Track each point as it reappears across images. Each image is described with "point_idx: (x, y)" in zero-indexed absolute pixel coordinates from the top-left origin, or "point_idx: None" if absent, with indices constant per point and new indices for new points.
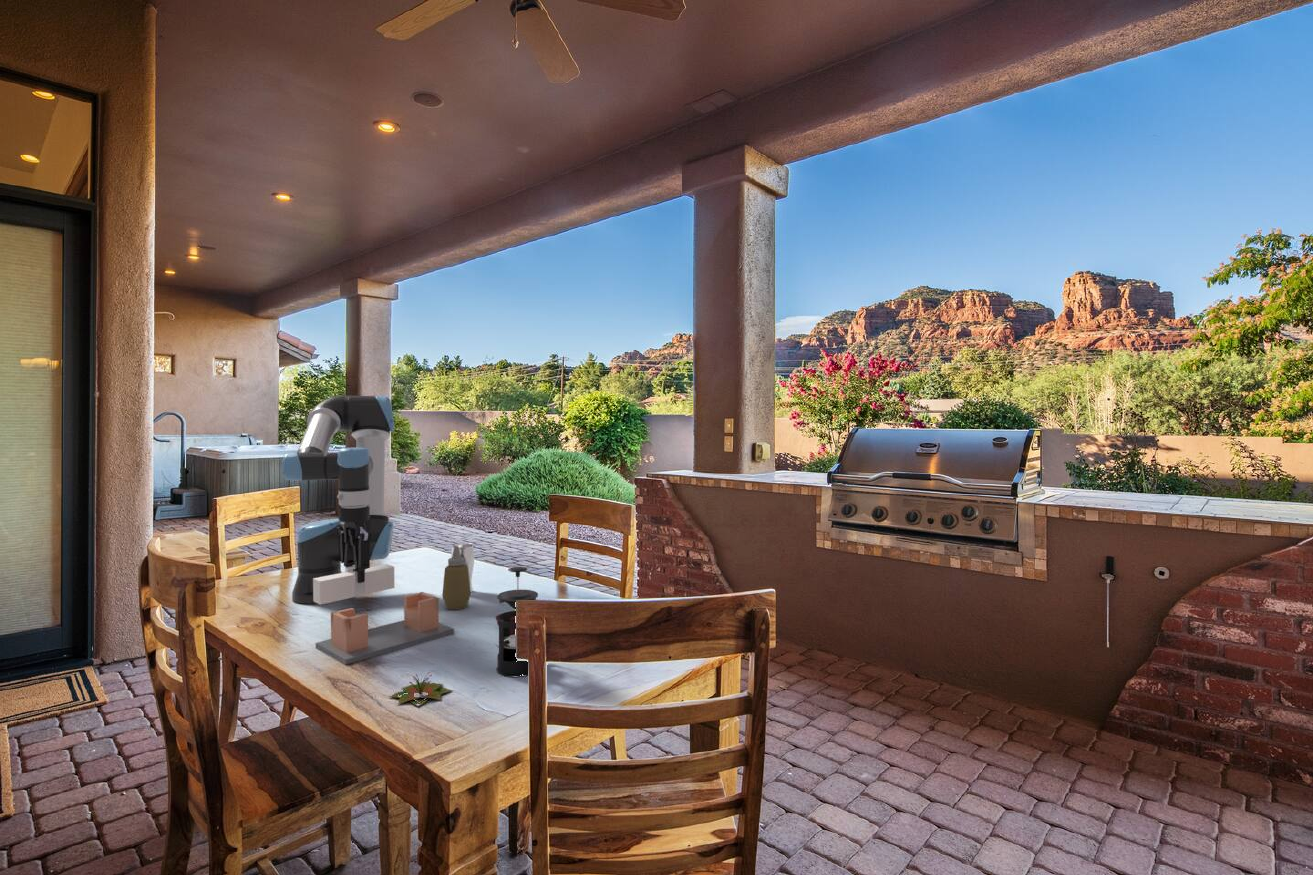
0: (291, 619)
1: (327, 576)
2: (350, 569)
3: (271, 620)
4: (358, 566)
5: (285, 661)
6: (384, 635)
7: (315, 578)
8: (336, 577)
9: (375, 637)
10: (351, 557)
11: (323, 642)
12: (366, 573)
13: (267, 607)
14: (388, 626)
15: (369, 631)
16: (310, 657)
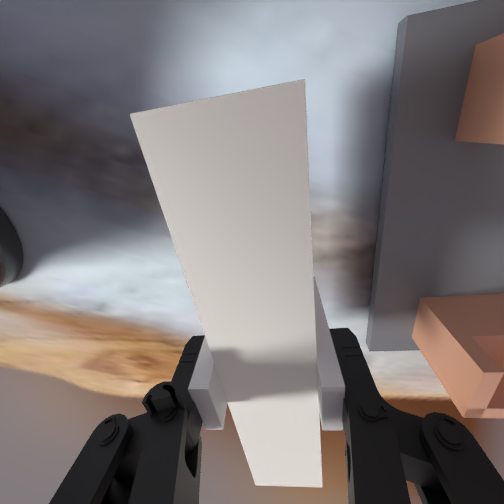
0: (138, 321)
1: (261, 459)
2: (220, 398)
3: (127, 344)
4: (415, 484)
5: (391, 386)
6: (481, 232)
7: (262, 482)
8: (307, 449)
9: (468, 255)
10: (187, 501)
11: (382, 341)
12: (315, 336)
13: (26, 328)
14: (411, 190)
15: (402, 249)
16: (412, 361)
